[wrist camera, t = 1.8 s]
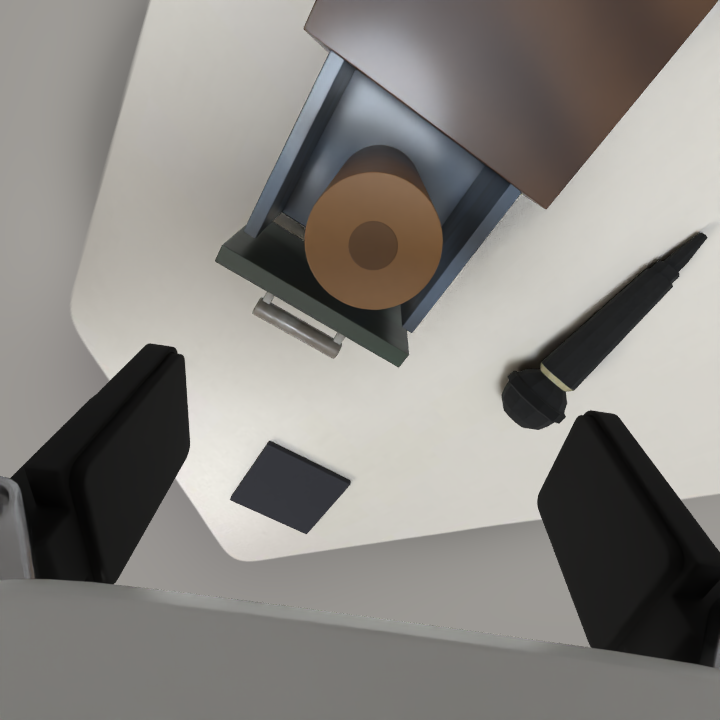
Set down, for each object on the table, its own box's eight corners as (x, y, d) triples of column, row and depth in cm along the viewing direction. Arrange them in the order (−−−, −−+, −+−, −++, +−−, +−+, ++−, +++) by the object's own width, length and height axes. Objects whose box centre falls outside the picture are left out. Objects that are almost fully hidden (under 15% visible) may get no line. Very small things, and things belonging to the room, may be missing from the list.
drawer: (369, 350, 39) (365, 409, 31) (231, 270, 36) (189, 315, 28) (535, 126, 30) (586, 133, 22) (367, -7, 27) (359, -53, 19)
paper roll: (321, 205, 32) (280, 266, 20) (365, 125, 29) (350, 139, 17) (389, 249, 33) (391, 332, 21) (438, 177, 31) (472, 225, 18)
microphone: (658, 215, 36) (486, 390, 42) (693, 207, 30) (490, 410, 36) (711, 258, 36) (531, 427, 42) (756, 258, 30) (541, 453, 36)
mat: (231, 496, 50) (229, 500, 50) (269, 440, 46) (267, 444, 45) (307, 530, 53) (306, 534, 52) (350, 480, 48) (350, 484, 48)
